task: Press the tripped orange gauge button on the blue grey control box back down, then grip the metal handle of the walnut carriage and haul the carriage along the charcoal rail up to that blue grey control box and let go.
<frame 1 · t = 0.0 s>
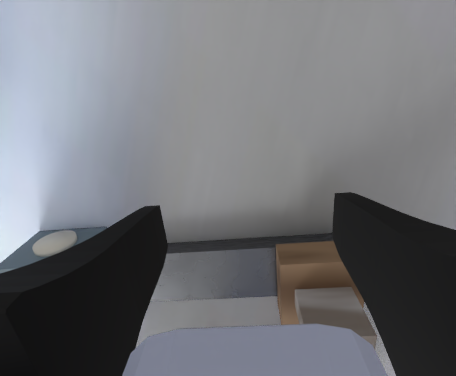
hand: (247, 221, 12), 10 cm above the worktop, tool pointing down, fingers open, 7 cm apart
blue grey control box: (87, 271, 26), on the worktop
carriage: (325, 304, 20), point 5 cm above the worktop, slide at -6.0 cm
rail: (240, 263, 25), on the worktop
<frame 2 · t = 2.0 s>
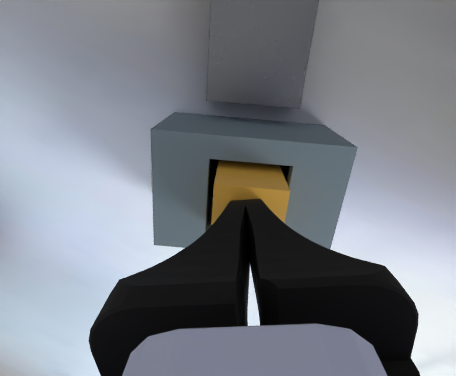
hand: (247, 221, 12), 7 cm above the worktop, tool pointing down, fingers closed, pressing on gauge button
blue grey control box: (244, 166, 18), on the worktop
gauge button: (246, 202, 13), point 5 cm above the worktop, slide at 0.6 cm, touching gripper
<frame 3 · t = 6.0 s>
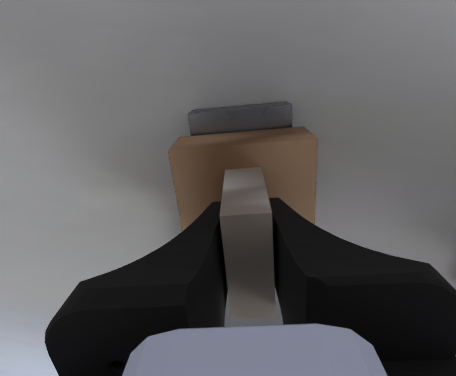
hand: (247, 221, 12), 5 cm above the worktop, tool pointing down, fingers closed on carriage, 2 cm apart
carriage: (246, 219, 12), point 5 cm above the worktop, slide at -6.0 cm, touching gripper
rail: (250, 260, 19), on the worktop
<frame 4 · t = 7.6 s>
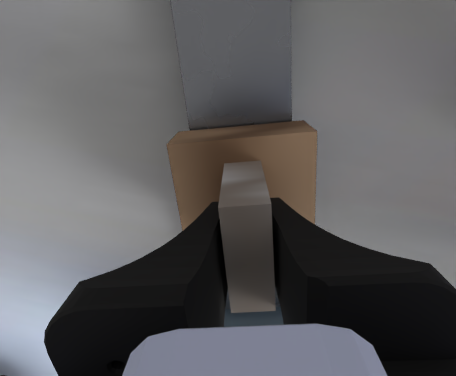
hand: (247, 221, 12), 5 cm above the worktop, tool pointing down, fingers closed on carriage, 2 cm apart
blue grey control box: (256, 332, 21), on the worktop
carriage: (246, 213, 12), point 5 cm above the worktop, slide at 1.1 cm, touching gripper
rail: (242, 154, 16), on the worktop
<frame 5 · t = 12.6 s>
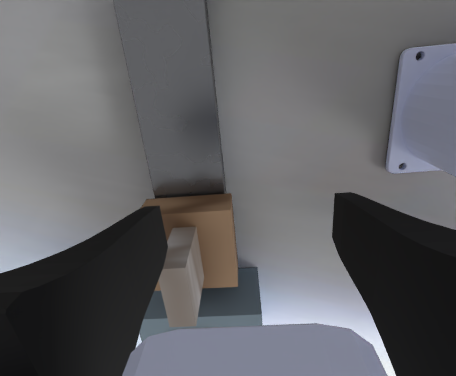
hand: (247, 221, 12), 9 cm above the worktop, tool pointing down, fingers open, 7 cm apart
blue grey control box: (209, 296, 26), on the worktop
carriage: (187, 260, 18), point 5 cm above the worktop, slide at 6.1 cm
rail: (186, 146, 20), on the worktop
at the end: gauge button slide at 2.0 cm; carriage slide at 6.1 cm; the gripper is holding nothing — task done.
